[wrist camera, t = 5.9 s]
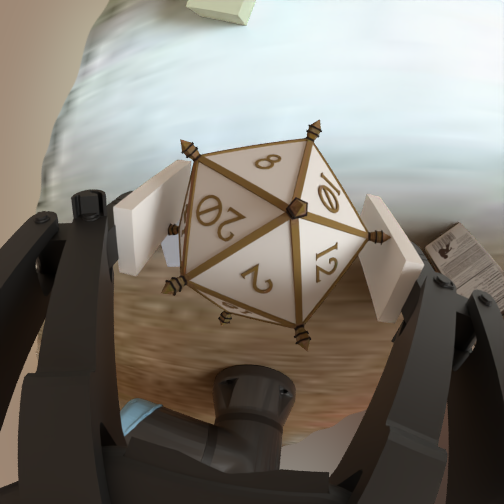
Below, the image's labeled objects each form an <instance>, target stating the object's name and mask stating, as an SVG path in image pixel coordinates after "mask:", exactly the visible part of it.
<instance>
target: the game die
mask: <svg viewBox="0 0 504 504" xmlns="http://www.w3.org/2000/svg"><path fill="white" fill-rule="evenodd" d="M308 126H309V129H308V130H307V131H306V132H307V137H306V138H303V139H295V140H287V141H279V142H272V143H265V144H258V145H252V146H246V147H240V148H234V149H228V150H223V151H217V152H212V153H207V154H202V155H201V154H199V152H198V148H197V147H195V146H194V145H193V144H194V143H193V142H192V143H191V142H187V141H184V140H181V139H180V141H181V147H182V152H181V153H182V154H183V153H184V154H185V155H186V158H188V157H189V158H191V159H192V160H193V161H194V163H193V167H192V171H191V175H190V179H189V183H188V187H187V192H186V196H185V200H184V205H183V209H182V213H181V218H180V223H179V226H177V225H176V224H174V225H172V224H171V223H170V225H169V227H168V235H169V236H170V235H177V234H178V238H179V257H180V274H181V276H180V277H177V278H175V277H172V278H171V280H166V284H165V286H164V288H163V290H162V292H161V293H163V294H173V295H174V296H175V295H176V293H177V292H178V291H179V292H181V289H182V287H183V286H185V285H187V286H189V287H190V288H192V289H193V290H194V291H196V292H197V293H199V294H200V295H202V296H203V297H205V298H206V299H208V300H209V301H211V302H212V303H214V304H215V305H217V306H218V307H220V308H221V309H223V310H224V311H223V312H222V313H221V314H220V315H221V316H220V317H219V318H218V319H219V320H220V323H221V326H222V325H224V324H227V323H230V319H232V318H231V314H234V315H238V316H242V317H246V318H250V319H255V320H259V321H263V322H267V323H271V324H276V325H280V326H285V327H289V328H294V329H295V336H294V338H296V340H297V342H296V344H299V345H300V346H301V347H302V348H304V349H305V350H306V351H308V347H309V342H310V340H311V338H310V337H309V336H308V334H309V333H308V331H306V330H305V329H304V325H305V324H306V322H307V321H308V320H309V319H310V318H311V316H312V315H313V314H314V313H315V311H316V310H317V309H318V308H319V306H320V305H321V304H322V302H323V301H324V300H325V299H326V297H327V296H328V295H329V293H330V292H331V291H332V290H333V288H334V287H335V286H336V284H337V283H338V282H339V280H340V279H341V278H342V276H343V275H344V274H345V272H346V271H347V270H348V268H349V267H350V266H351V264H352V263H353V261H354V260H355V259H356V257H357V256H358V255H359V253H360V252H361V250H362V249H363V248H364V246H365V245H366V243H367V242H368V241H372V242H374V243H375V244H376V243H381V245H382V243H383V242H385V241H387V240H388V239H390V238H391V237H390V236H389V235H387V234H386V233H384V232H383V230H381V231H377V230H375V231H374V232H368V230H367V228H366V227H365V225H364V223H363V221H362V219H361V218H360V216H359V214H358V212H357V211H356V209H355V207H354V206H353V204H352V202H351V200H350V199H349V197H348V195H347V194H346V192H345V190H344V189H343V187H342V185H341V184H340V182H339V181H338V179H337V177H336V176H335V174H334V173H333V171H332V169H331V168H330V166H329V165H328V163H327V162H326V160H325V159H324V157H323V155H322V154H321V152H320V151H319V149H318V148H317V146H316V145H315V143H314V140H315V139H316V138H317V137H319V133H320V132H322V130H321V126H320V120H318V121H316V122H315V123H313V124H311V125H308Z"/></svg>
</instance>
